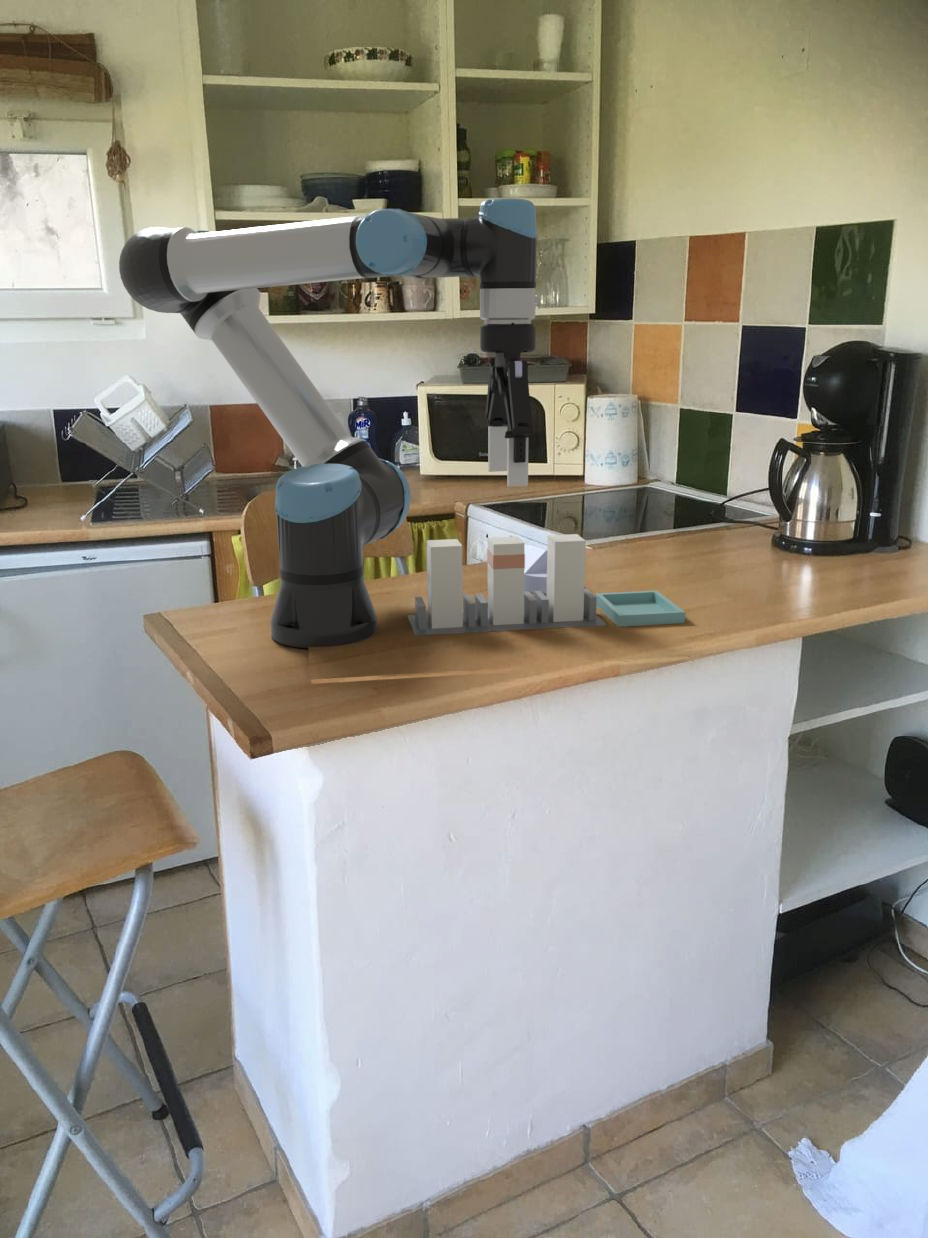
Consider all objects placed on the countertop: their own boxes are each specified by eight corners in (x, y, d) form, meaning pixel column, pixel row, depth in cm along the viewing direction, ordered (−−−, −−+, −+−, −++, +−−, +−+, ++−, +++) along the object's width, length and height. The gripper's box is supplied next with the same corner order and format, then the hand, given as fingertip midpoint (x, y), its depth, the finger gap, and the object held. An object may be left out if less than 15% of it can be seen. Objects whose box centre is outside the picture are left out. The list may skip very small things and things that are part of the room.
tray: (618, 629, 147) (619, 615, 147) (594, 606, 159) (595, 593, 158) (684, 625, 149) (685, 612, 148) (656, 603, 160) (657, 590, 160)
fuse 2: (553, 621, 149) (555, 541, 146) (546, 613, 154) (547, 535, 150) (583, 620, 150) (585, 540, 146) (575, 611, 154) (577, 534, 151)
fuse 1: (431, 628, 146) (430, 547, 143) (427, 619, 151) (426, 540, 147) (462, 626, 147) (462, 545, 144) (457, 617, 151) (457, 539, 148)
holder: (415, 638, 144) (414, 611, 142) (407, 618, 153) (406, 592, 152) (606, 628, 148) (607, 601, 147) (587, 608, 157) (588, 583, 156)
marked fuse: (493, 625, 148) (493, 544, 144) (487, 616, 152) (487, 537, 149) (524, 623, 149) (525, 543, 145) (517, 614, 153) (518, 536, 149)
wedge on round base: (493, 583, 173) (540, 600, 162) (493, 544, 171) (541, 559, 160) (535, 575, 177) (584, 591, 167) (536, 537, 176) (585, 551, 165)
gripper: (558, 322, 127) (555, 492, 133) (515, 320, 150) (514, 464, 157) (499, 323, 126) (498, 494, 132) (465, 321, 149) (466, 466, 155)
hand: (507, 478), depth 144 cm, fingers open, 13 cm apart
